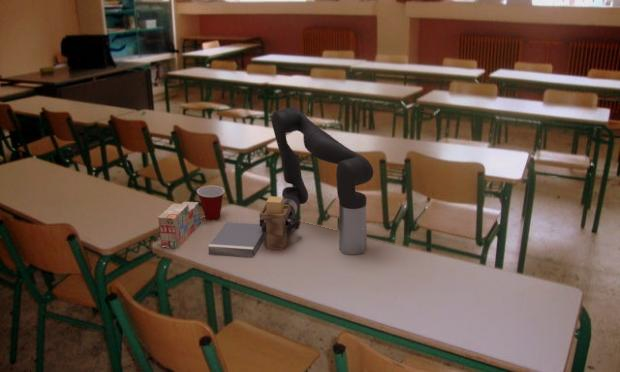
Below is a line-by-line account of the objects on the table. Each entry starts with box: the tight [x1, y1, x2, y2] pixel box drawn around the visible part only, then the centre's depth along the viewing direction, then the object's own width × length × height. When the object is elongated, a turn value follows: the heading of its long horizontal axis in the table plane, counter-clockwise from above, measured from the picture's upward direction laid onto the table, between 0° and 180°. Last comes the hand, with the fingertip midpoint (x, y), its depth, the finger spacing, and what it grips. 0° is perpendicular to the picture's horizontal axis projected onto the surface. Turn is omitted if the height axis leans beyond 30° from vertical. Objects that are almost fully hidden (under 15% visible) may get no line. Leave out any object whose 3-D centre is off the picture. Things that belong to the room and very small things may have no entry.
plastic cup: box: [196, 184, 225, 221], centre depth 220 cm, size 11×11×12 cm
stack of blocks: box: [157, 201, 202, 250], centre depth 206 cm, size 21×6×12 cm, turn 168°
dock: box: [207, 221, 267, 258], centre depth 201 cm, size 16×20×3 cm
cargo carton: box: [265, 195, 284, 215], centre depth 194 cm, size 5×5×5 cm
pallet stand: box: [259, 204, 291, 250], centre depth 197 cm, size 9×9×14 cm
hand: (275, 230), depth 196 cm, fingers open, 8 cm apart
